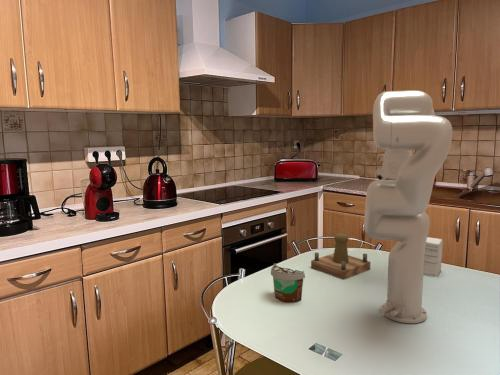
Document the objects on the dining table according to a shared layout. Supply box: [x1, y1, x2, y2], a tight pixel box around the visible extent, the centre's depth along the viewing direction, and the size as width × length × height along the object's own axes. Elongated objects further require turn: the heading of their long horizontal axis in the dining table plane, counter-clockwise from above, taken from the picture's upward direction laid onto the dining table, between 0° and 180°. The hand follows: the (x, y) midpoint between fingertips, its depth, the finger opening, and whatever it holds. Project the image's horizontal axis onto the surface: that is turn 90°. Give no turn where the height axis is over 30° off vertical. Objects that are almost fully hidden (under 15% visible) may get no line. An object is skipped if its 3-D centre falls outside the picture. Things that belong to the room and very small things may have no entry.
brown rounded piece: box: [333, 232, 349, 264], centre depth 152 cm, size 6×6×11 cm
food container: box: [270, 263, 306, 304], centre depth 126 cm, size 12×6×10 cm, turn 47°
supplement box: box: [423, 236, 444, 278], centre depth 148 cm, size 7×7×13 cm
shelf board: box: [310, 252, 371, 280], centre depth 153 cm, size 16×16×6 cm
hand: (397, 195), depth 140 cm, fingers open, 9 cm apart
